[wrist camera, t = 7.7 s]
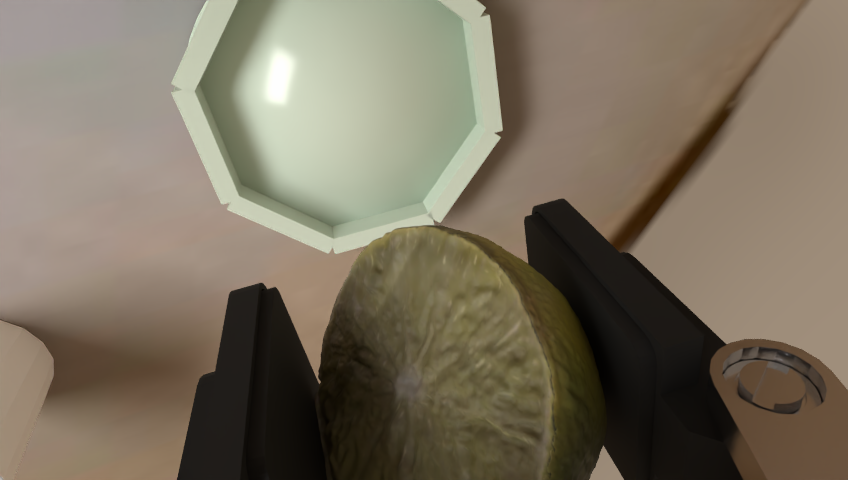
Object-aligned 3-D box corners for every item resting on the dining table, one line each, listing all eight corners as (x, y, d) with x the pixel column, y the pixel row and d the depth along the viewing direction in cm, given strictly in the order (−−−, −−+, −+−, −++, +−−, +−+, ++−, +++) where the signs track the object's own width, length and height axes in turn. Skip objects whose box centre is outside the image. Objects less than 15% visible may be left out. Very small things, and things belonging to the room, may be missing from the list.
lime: (321, 409, 11) (339, 701, 7) (270, 207, 9) (249, 469, 4) (521, 366, 12) (650, 608, 8) (528, 166, 9) (726, 359, 5)
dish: (126, -29, 19) (111, -25, 17) (467, -105, 20) (481, -108, 18) (253, 260, 26) (251, 281, 24) (502, 192, 27) (515, 208, 25)
